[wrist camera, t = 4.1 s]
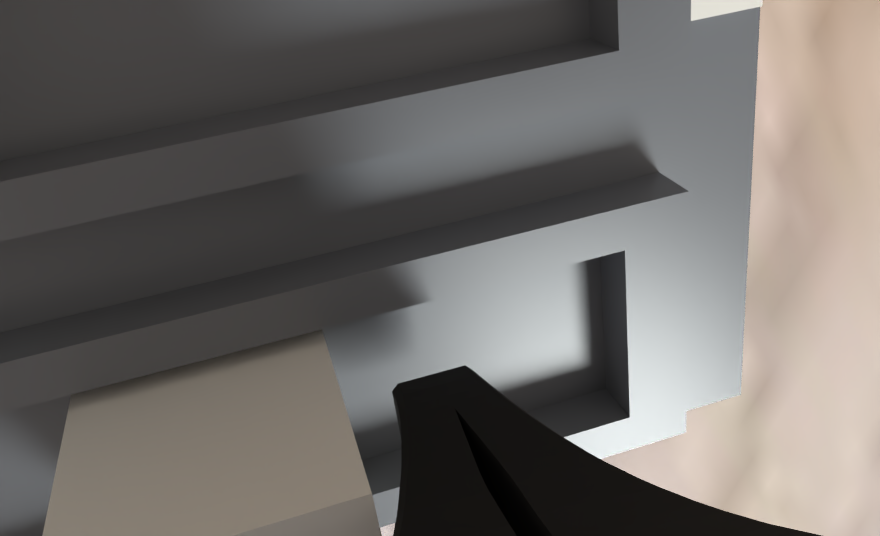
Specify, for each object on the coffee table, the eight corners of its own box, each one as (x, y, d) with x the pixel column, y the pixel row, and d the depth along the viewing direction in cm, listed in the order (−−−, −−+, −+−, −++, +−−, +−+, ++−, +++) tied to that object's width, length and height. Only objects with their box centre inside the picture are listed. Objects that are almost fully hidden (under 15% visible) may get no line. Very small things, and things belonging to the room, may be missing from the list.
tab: (350, 454, 15) (419, 691, 11) (131, 518, 15) (110, 799, 10) (318, 318, 14) (382, 527, 10) (74, 381, 13) (20, 639, 9)
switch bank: (709, 365, 19) (769, 421, 17) (-268, 653, 15) (-333, 768, 13) (728, -330, 13) (826, -364, 11) (-909, -128, 9) (-1205, -127, 7)
